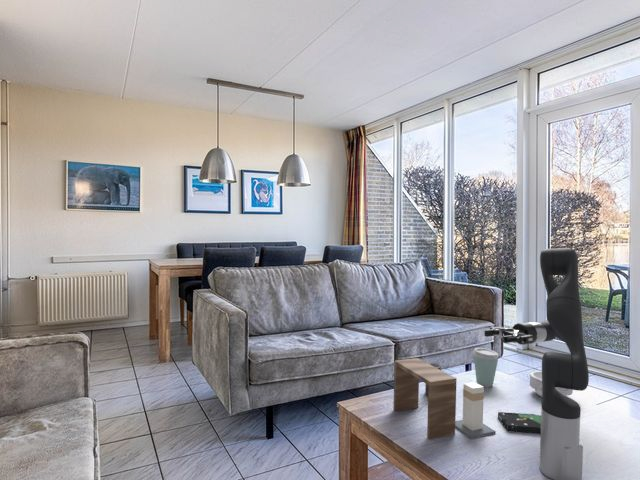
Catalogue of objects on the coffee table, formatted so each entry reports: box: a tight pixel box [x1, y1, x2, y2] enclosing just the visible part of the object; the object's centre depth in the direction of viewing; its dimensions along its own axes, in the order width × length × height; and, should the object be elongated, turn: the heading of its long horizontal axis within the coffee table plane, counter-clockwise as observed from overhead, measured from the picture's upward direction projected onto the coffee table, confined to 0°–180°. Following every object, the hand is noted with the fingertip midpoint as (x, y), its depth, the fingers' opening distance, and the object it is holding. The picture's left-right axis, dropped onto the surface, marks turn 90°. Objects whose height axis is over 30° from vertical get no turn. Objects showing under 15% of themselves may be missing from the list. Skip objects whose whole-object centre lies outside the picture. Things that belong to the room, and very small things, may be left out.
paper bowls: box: [529, 370, 574, 398], centre depth 165 cm, size 15×15×8 cm
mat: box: [455, 419, 496, 439], centre depth 136 cm, size 10×10×1 cm
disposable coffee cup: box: [472, 347, 499, 388], centre depth 176 cm, size 11×11×15 cm
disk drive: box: [497, 411, 541, 435], centre depth 139 cm, size 10×3×15 cm
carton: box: [462, 381, 485, 430], centre depth 136 cm, size 5×5×14 cm
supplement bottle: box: [424, 363, 442, 397], centre depth 164 cm, size 7×7×12 cm
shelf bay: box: [392, 357, 458, 440], centre depth 141 cm, size 22×10×18 cm, turn 21°
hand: (494, 336), depth 141 cm, fingers open, 8 cm apart
